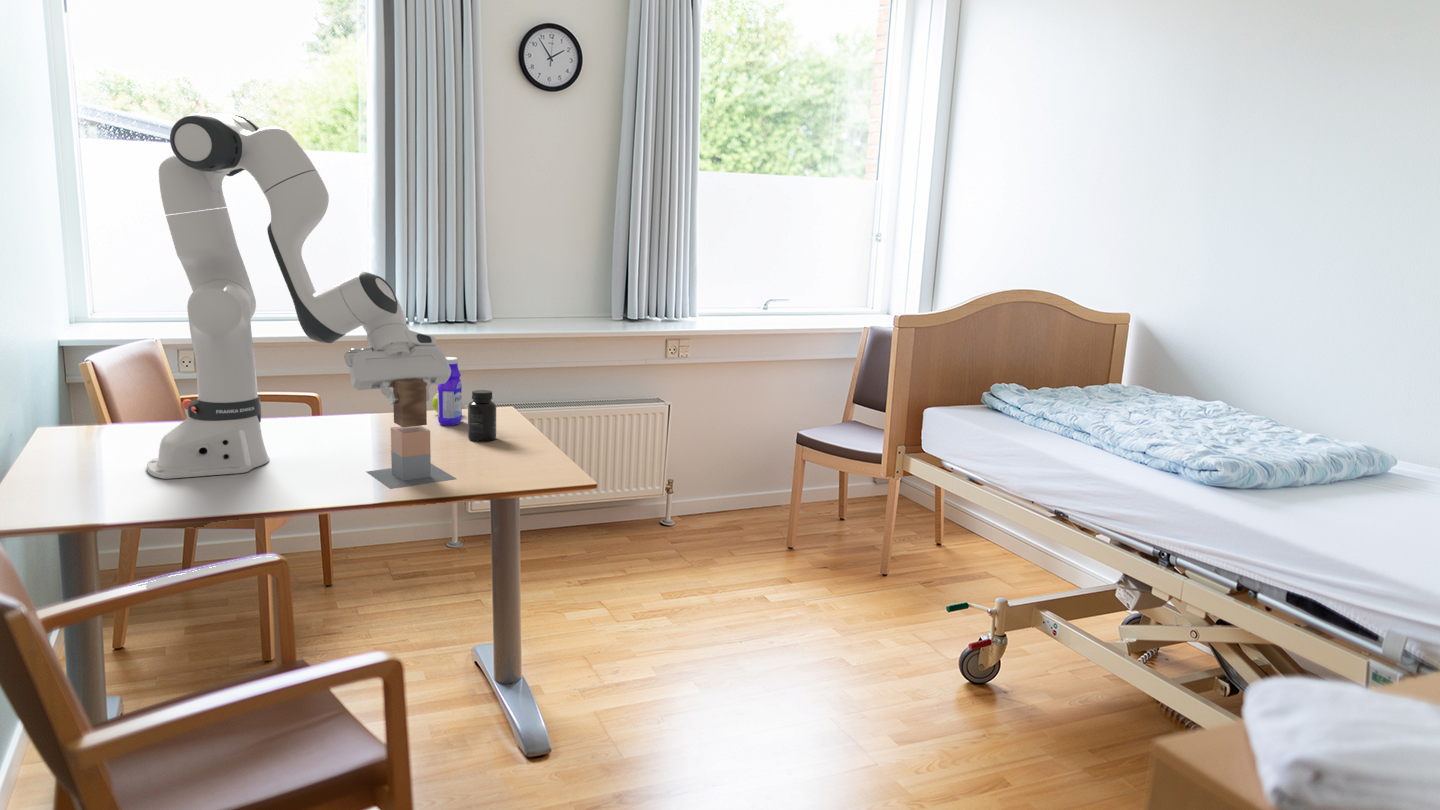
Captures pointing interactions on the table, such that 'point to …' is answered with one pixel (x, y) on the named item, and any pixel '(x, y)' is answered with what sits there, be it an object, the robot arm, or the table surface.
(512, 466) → the table surface
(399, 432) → the tower top
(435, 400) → the tennis ball
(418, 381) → the walnut post
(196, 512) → the table surface
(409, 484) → the rubber mat
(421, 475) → the tower bottom
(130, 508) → the table surface
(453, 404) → the bottle
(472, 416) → the supplement bottle
